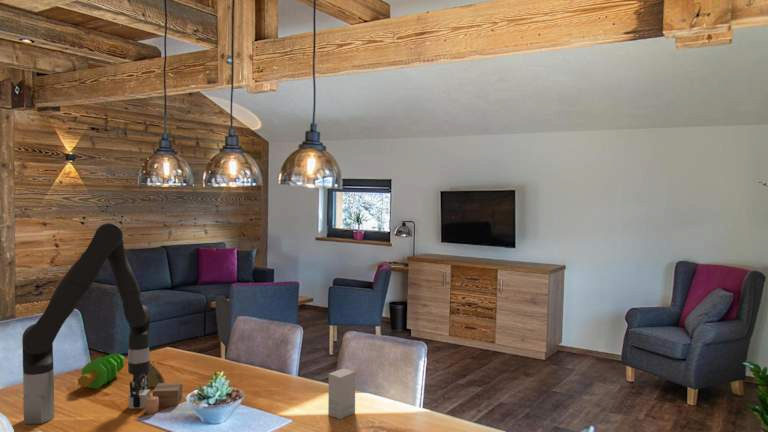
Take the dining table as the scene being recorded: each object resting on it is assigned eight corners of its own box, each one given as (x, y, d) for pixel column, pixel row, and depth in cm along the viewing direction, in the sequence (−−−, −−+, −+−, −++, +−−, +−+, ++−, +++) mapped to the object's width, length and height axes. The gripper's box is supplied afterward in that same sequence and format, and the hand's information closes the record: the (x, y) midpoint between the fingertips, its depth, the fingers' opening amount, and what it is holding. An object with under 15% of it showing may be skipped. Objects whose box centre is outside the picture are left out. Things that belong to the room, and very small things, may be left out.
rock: (172, 377, 250) (153, 371, 254) (164, 365, 244) (145, 359, 248) (155, 399, 243) (136, 392, 247) (146, 387, 237) (128, 380, 241)
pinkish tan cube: (156, 414, 217) (156, 400, 216) (143, 414, 216) (143, 400, 216) (160, 409, 221) (160, 396, 221) (147, 409, 221) (147, 396, 221)
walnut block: (177, 406, 225) (177, 390, 225) (152, 407, 224) (152, 391, 224) (182, 397, 234) (182, 382, 234) (158, 398, 233) (158, 383, 232)
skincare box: (343, 408, 223) (343, 367, 223) (356, 413, 219) (356, 371, 218) (327, 415, 217) (327, 372, 216) (340, 420, 213) (340, 376, 212)
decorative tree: (76, 362, 236) (117, 340, 266) (67, 388, 238) (108, 363, 267) (102, 374, 235) (140, 350, 265) (92, 400, 237) (131, 373, 267)
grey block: (145, 408, 222) (145, 395, 222) (128, 408, 222) (128, 395, 221) (150, 402, 228) (150, 389, 228) (134, 402, 228) (133, 389, 227)
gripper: (135, 354, 231) (135, 397, 232) (121, 365, 216) (122, 411, 217) (155, 353, 231) (155, 396, 232) (143, 365, 217) (143, 410, 218)
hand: (139, 403), depth 225 cm, fingers closed on grey block, 6 cm apart
